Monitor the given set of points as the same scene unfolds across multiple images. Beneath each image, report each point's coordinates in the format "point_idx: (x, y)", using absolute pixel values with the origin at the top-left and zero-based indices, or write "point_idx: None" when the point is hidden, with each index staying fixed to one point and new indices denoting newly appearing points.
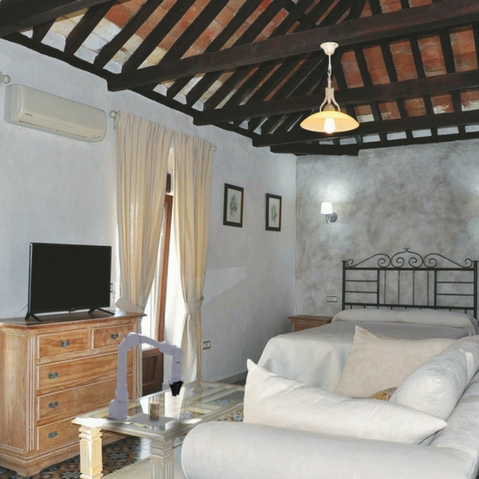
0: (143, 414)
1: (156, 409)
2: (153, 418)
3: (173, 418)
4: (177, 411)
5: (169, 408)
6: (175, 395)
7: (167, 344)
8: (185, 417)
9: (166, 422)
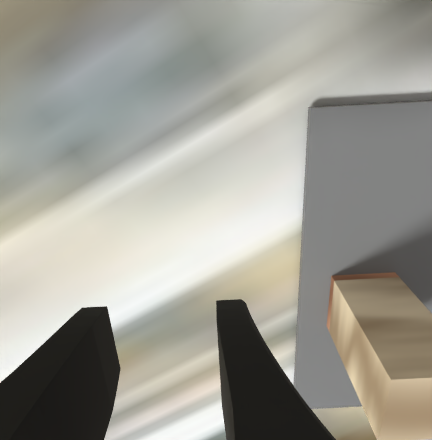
0: (325, 391)
1: (430, 324)
2: (408, 282)
3: (332, 129)
4: (35, 249)
5: (8, 347)
6: (250, 315)
7: None
8: (177, 57)
9: None
